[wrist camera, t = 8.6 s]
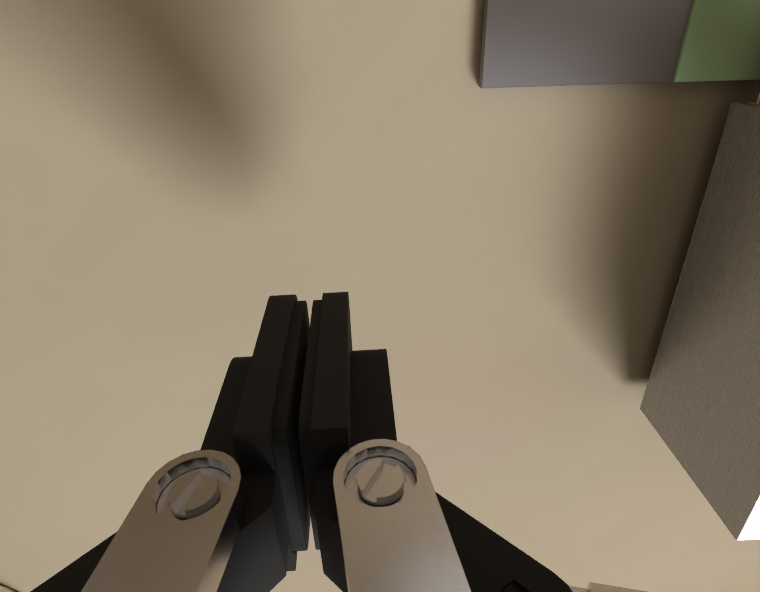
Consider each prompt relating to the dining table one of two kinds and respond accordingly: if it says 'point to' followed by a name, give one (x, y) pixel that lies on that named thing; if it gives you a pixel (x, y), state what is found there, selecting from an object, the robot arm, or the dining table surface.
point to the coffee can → (5, 589)
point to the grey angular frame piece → (718, 337)
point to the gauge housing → (618, 42)
